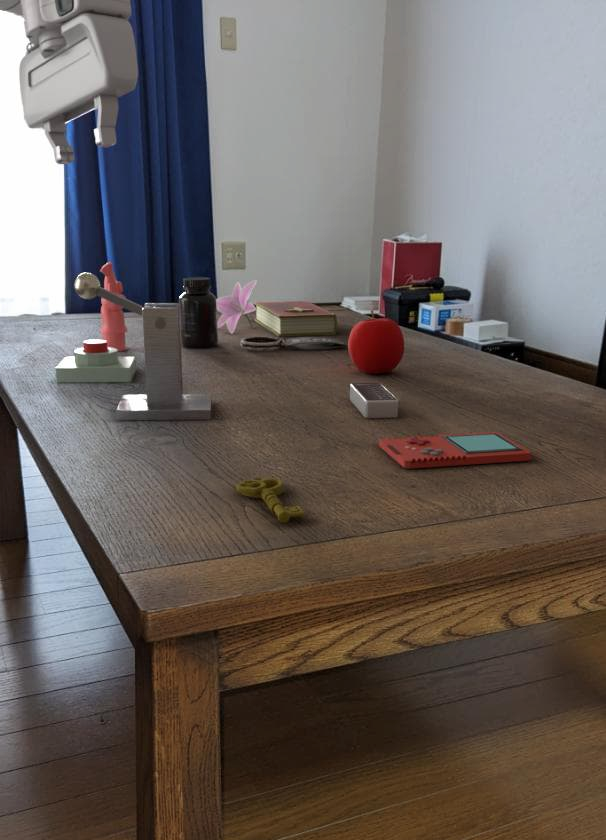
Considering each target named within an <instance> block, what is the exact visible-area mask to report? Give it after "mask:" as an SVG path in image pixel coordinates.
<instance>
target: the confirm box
mask: <svg viewBox="0 0 606 840" xmlns="http://www.w3.org/2000/svg"><path fill="white" fill-rule="evenodd" d="M136 361H137V360H136V356H119V351H118V349H115V348H111V347H108V352H102V353H86V352H84V347H80V348H76V349H75V350H74V351H73V356H65V357H64V358H63V359H62V360H61V361H60V363H58V365H57V366H56V367H55V376H56V383H131V382H132V379H133V378H134V376H135V373H136V371H137V363H136Z"/></svg>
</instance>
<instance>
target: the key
mask: <svg viewBox="0 0 606 840" xmlns="http://www.w3.org/2000/svg"><path fill="white" fill-rule="evenodd" d="M235 490H236V491H237V492H239V493H241V495H243V496H245V497H249V498H254V499H262V500H263V502H264V503H265V505H266V506H267V507H268V510H269V511H270V512H271V514H272V515H276V516H277V520H278V521H279V522H280V523H282V524H285V523H288V522H289V521H290V519H291V518H299V517H305V512H304V509H303V508H301V506H299V505H292V506H284V504H283V503H282V501H281V500H280V498H279V497H278V496H280V495H281V494H283V493H284V491H285V483H284V481H283V480H282V479H280V478H274V477H271V478H264V477H254V478H252V479H246V480H242V481H240V483H237V484H236V485H235Z"/></svg>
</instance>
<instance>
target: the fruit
mask: <svg viewBox="0 0 606 840" xmlns="http://www.w3.org/2000/svg"><path fill="white" fill-rule="evenodd" d="M370 313H371V316H372V318H369V319H364V320H361V321H359V322H357V324H354V326H353V328H352V329H351V331H350V334H349V337H348V343H347V347H348V354H349V357H350V359H351V361H352V363H353V365H354V366H355V367H356V369H357V370H358V371H361V372H362V373H365V375H366V374H367V375H379V374H388V373H390V372H392V371H394V369H396V367H398V365H399V364H400V362H401V361H402V359H403V356H404V353H405V338H404V334H403V331H402V329H401V327H400V326H399V324H397V322H396V321H394V320H393V319H391V318H384V317H382V318H375V313H374V309H370Z"/></svg>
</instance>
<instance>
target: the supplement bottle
mask: <svg viewBox="0 0 606 840" xmlns="http://www.w3.org/2000/svg"><path fill="white" fill-rule="evenodd" d="M182 280H183V286H182V289H183V290H184V292H183V293H182V294H181V295H180V296H179V298H178V303H179V310H180V335H181V346H183V347H184V348H190V349H206V348H213V347H215V346H217V345H218V343H219V331H218V330H219V328H217V322H218V310H217V304H216V299H217V297H216V295H214V293H212V292H211V291H210V289H211V287H212V286H211V278H210V277H206V276H189V277H184V278H183V279H182Z"/></svg>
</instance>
